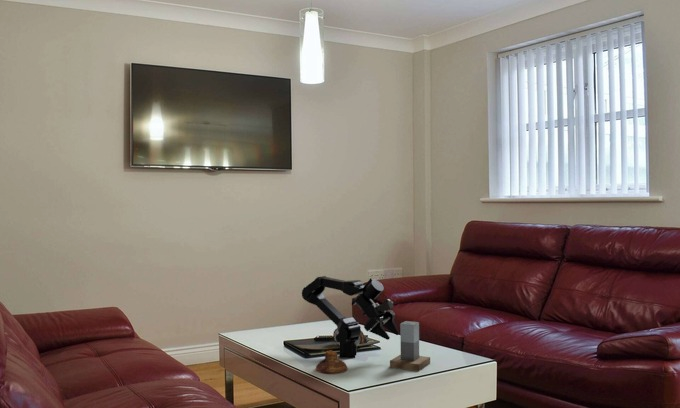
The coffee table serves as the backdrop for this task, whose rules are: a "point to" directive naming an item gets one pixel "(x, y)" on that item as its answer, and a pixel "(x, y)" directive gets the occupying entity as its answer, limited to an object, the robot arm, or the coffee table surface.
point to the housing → (409, 340)
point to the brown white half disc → (359, 341)
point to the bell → (331, 364)
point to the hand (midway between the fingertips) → (393, 336)
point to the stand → (410, 363)
